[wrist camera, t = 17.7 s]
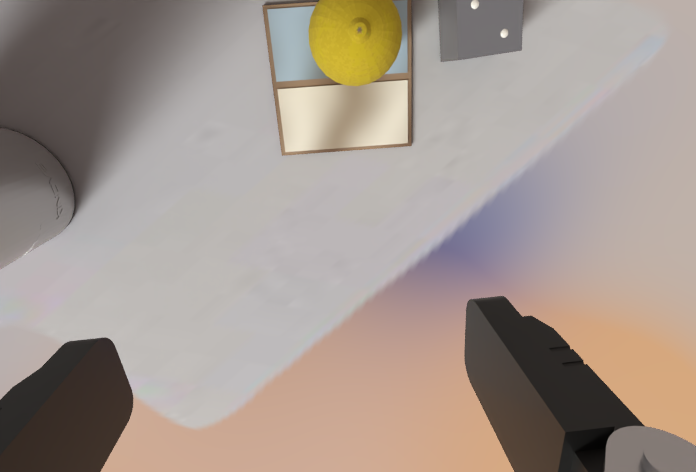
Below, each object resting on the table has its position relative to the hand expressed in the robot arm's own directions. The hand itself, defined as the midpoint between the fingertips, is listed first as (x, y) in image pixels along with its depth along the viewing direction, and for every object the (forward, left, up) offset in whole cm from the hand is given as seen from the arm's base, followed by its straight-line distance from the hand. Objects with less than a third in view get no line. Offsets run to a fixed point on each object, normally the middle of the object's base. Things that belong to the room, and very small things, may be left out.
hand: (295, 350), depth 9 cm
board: (+2, +5, -23) cm, 24 cm away
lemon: (+3, +8, -23) cm, 24 cm away
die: (+11, +6, -21) cm, 25 cm away
